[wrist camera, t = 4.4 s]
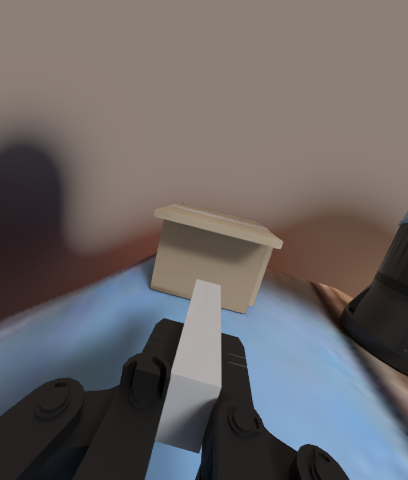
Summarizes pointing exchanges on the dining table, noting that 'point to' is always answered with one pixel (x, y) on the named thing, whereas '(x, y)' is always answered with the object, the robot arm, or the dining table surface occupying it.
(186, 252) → the carton
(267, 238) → the flap
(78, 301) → the dining table surface
